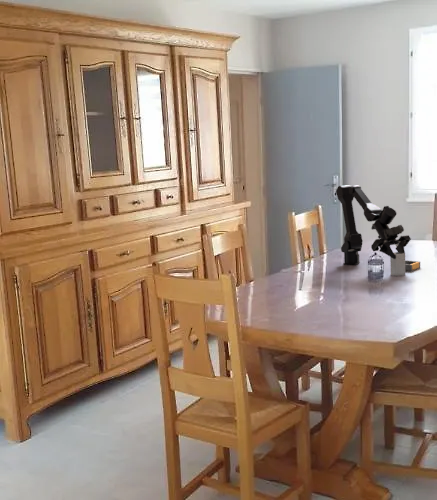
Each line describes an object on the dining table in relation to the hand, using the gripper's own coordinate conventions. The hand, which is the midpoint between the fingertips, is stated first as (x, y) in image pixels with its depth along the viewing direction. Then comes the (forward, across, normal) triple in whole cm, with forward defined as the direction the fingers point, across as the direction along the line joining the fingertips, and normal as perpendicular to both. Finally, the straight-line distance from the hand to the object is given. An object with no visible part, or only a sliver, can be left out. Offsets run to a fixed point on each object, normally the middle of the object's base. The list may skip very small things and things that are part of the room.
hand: (399, 257), depth 293 cm
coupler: (-1, +12, +12) cm, 17 cm away
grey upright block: (+5, 0, +7) cm, 8 cm away
